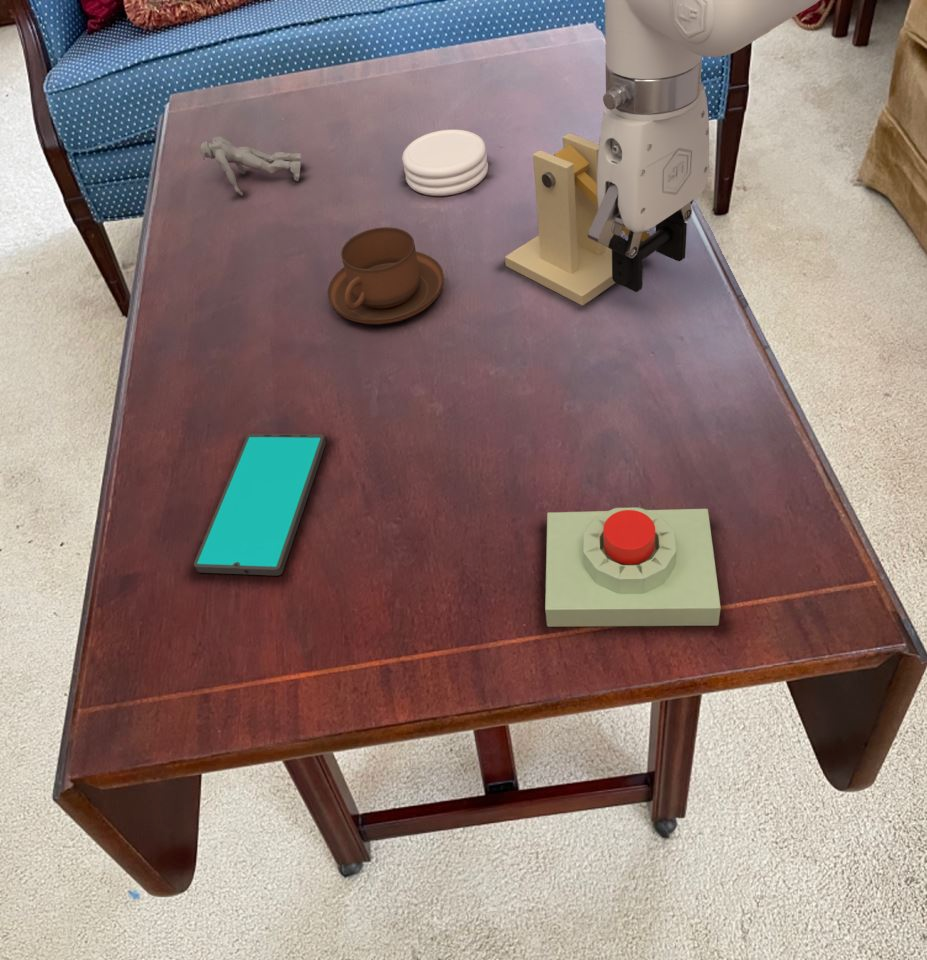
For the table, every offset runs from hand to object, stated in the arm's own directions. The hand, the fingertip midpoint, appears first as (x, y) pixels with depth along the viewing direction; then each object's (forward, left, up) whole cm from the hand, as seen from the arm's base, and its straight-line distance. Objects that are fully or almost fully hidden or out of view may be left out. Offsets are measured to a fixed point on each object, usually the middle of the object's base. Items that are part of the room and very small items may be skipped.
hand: (648, 268), depth 89 cm
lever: (+4, -4, +4) cm, 7 cm away
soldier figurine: (+46, -29, -4) cm, 55 cm away
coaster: (+22, -27, -4) cm, 35 cm away
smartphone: (+33, +25, -4) cm, 42 cm away
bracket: (+7, -7, -4) cm, 11 cm away
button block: (+3, +33, -4) cm, 33 cm away
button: (+3, +33, 0) cm, 33 cm away
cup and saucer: (+26, -3, -4) cm, 27 cm away
